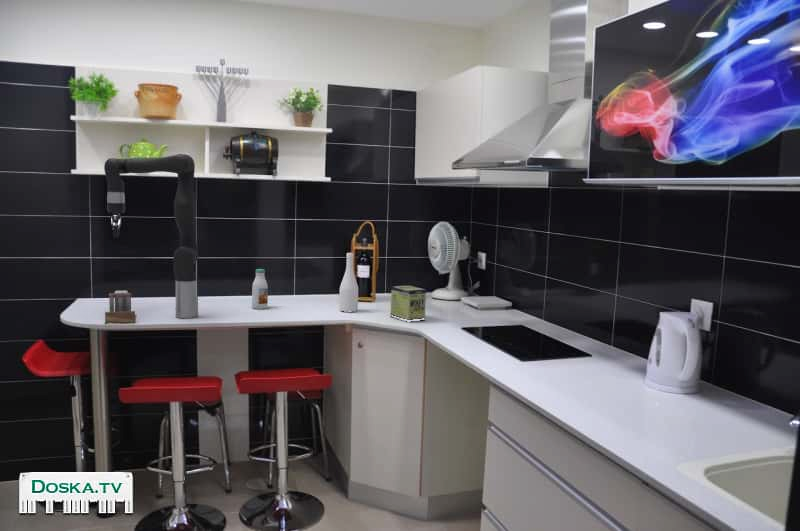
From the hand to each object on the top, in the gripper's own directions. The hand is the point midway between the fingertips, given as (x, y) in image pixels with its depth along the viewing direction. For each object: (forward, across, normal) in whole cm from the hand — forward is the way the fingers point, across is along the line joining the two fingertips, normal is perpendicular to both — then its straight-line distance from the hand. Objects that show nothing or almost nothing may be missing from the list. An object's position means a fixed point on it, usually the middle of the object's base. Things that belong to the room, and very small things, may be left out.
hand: (116, 236), depth 305 cm
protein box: (+36, -34, -134) cm, 143 cm away
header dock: (+36, -15, -3) cm, 39 cm away
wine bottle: (+36, -11, -110) cm, 116 cm away
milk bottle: (+36, +4, -67) cm, 76 cm away
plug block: (+36, -15, -3) cm, 39 cm away
